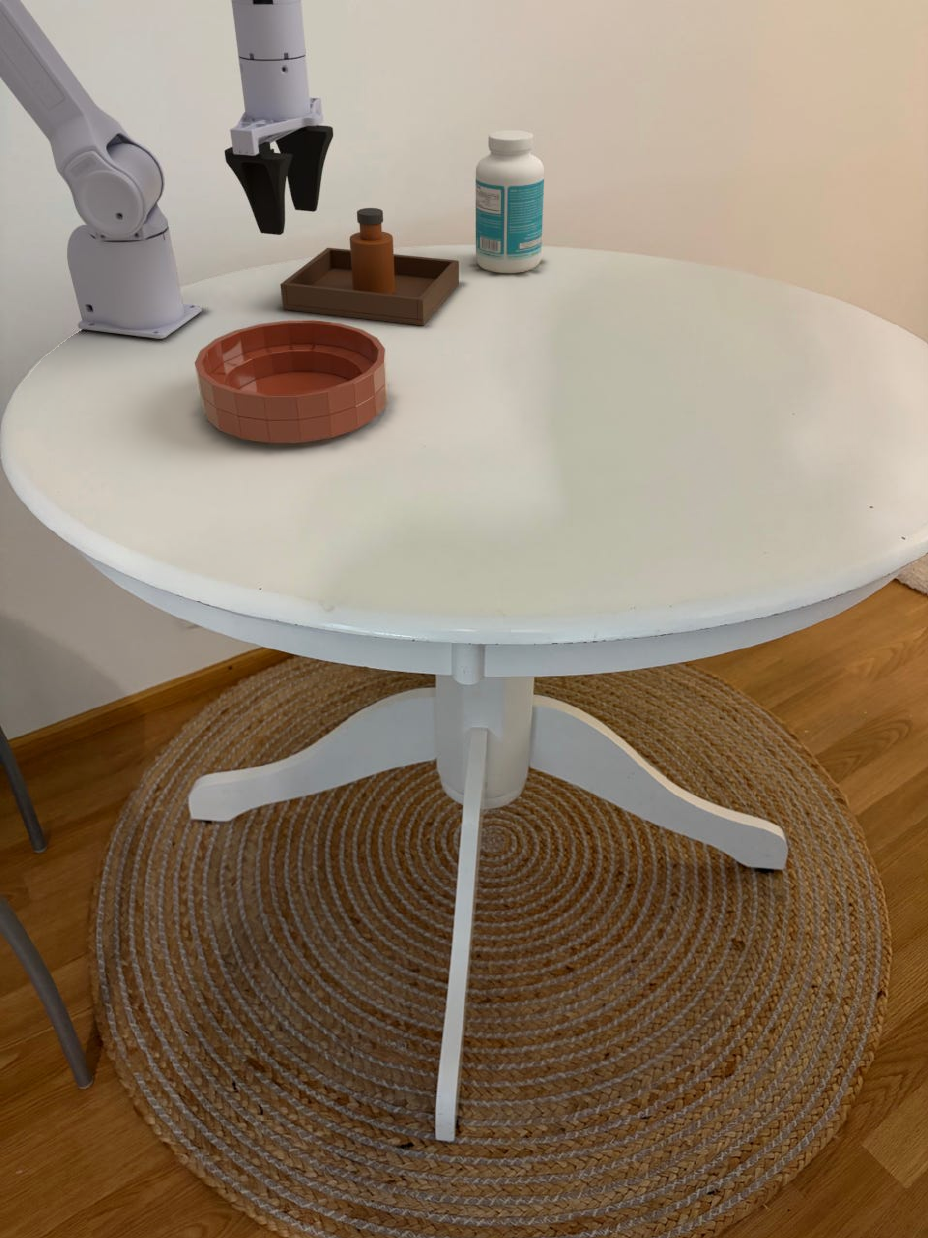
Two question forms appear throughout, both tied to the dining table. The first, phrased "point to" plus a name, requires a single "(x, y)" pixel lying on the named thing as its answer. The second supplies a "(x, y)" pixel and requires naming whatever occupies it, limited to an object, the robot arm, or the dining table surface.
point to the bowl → (292, 381)
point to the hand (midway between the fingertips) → (289, 221)
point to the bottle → (372, 254)
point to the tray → (332, 293)
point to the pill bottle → (509, 204)
